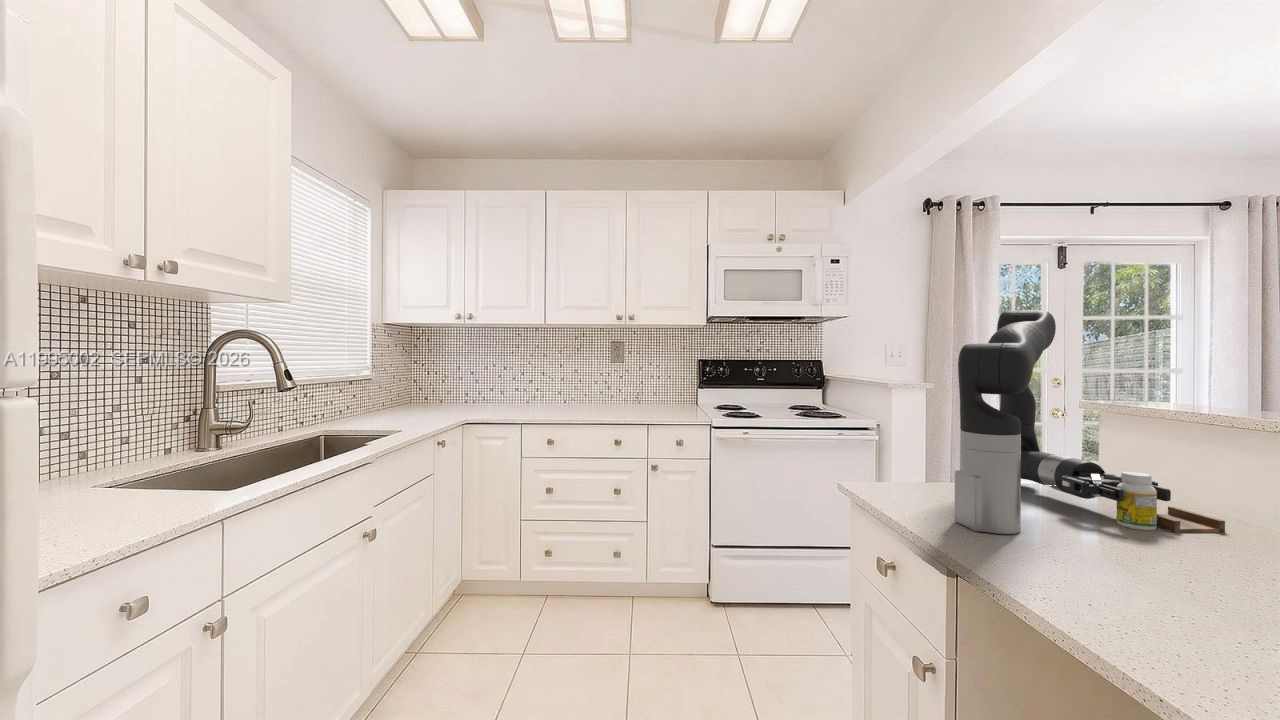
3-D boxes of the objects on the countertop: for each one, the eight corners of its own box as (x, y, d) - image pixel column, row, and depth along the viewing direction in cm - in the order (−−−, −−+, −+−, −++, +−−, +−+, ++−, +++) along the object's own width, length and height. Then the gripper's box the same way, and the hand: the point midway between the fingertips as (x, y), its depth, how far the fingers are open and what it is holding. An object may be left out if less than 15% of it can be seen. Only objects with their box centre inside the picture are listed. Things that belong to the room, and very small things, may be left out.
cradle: (1174, 532, 93) (1174, 521, 93) (1126, 517, 102) (1127, 506, 102) (1225, 532, 94) (1225, 520, 94) (1172, 516, 103) (1173, 506, 103)
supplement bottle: (1163, 532, 93) (1163, 478, 93) (1125, 529, 95) (1125, 475, 95) (1146, 523, 98) (1146, 471, 98) (1110, 520, 100) (1110, 469, 100)
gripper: (1037, 457, 111) (1106, 474, 95) (1104, 457, 111) (1184, 474, 95) (1036, 493, 111) (1106, 516, 95) (1104, 493, 111) (1184, 516, 95)
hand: (1145, 495), depth 95 cm, fingers open, 8 cm apart
